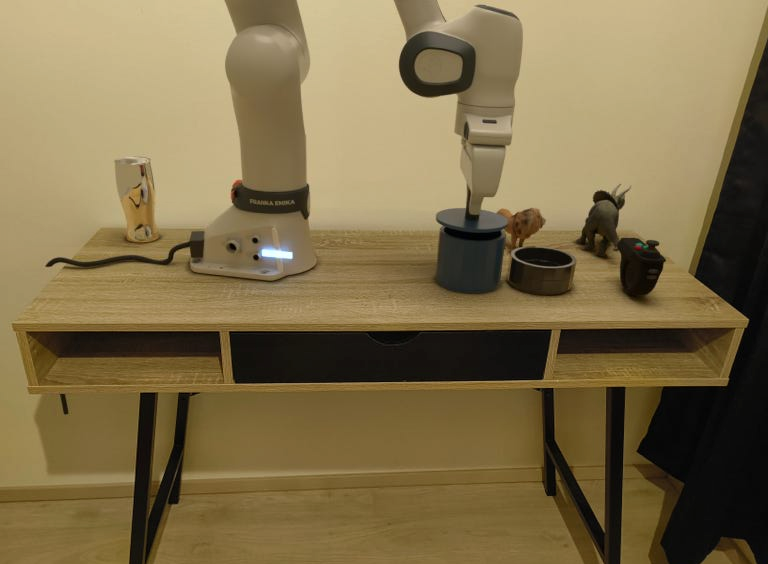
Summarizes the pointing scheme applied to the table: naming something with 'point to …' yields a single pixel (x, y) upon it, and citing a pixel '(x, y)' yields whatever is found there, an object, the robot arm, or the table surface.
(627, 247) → the controller
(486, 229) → the lid
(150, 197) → the beer glass
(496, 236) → the pot
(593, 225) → the toy dinosaur
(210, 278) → the table surface
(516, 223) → the lion figurine
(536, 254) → the pan
